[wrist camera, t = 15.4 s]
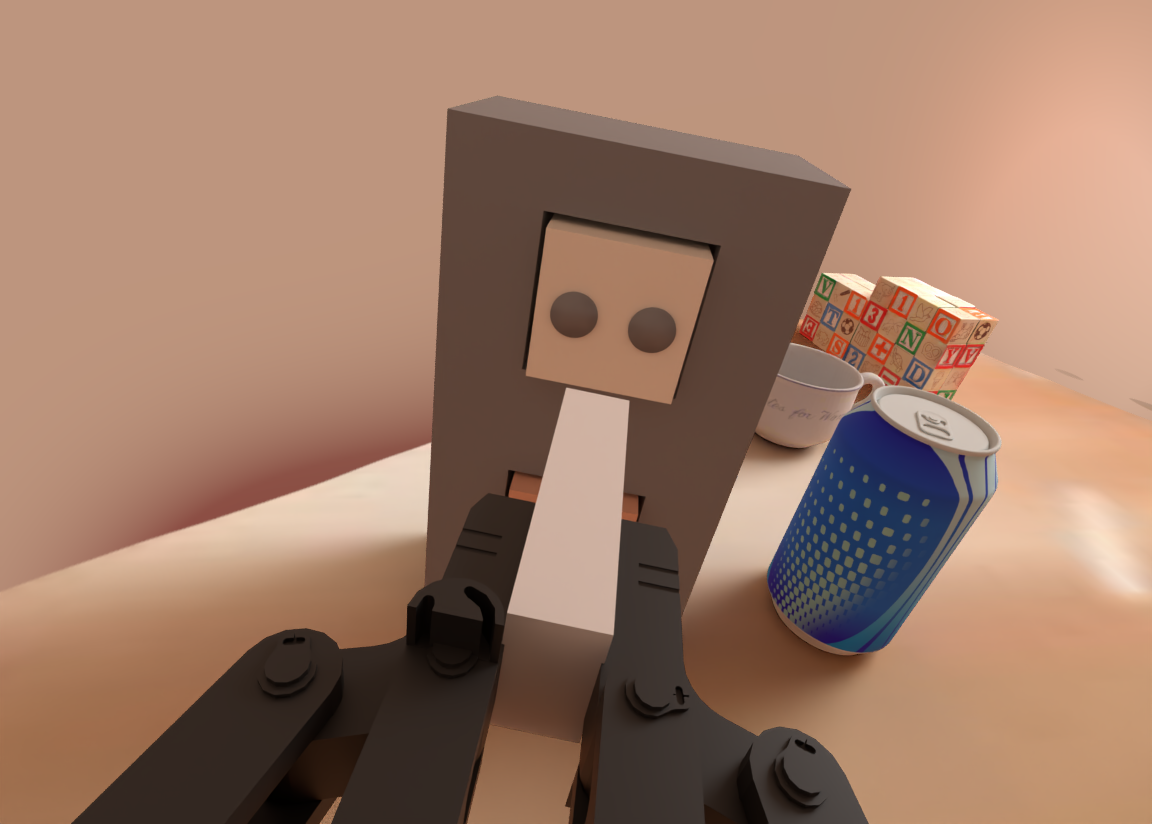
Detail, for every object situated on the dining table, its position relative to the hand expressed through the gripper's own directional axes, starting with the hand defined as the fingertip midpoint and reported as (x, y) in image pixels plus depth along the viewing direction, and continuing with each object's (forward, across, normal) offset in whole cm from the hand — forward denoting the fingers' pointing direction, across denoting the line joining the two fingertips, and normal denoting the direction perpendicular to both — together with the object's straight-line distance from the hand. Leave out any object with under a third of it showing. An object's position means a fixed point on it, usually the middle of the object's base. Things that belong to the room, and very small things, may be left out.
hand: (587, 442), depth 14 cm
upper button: (+13, 0, -4) cm, 13 cm away
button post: (+14, 0, -22) cm, 26 cm away
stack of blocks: (+62, +36, -22) cm, 75 cm away
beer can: (+18, +19, -22) cm, 34 cm away
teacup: (+41, +22, -22) cm, 51 cm away
